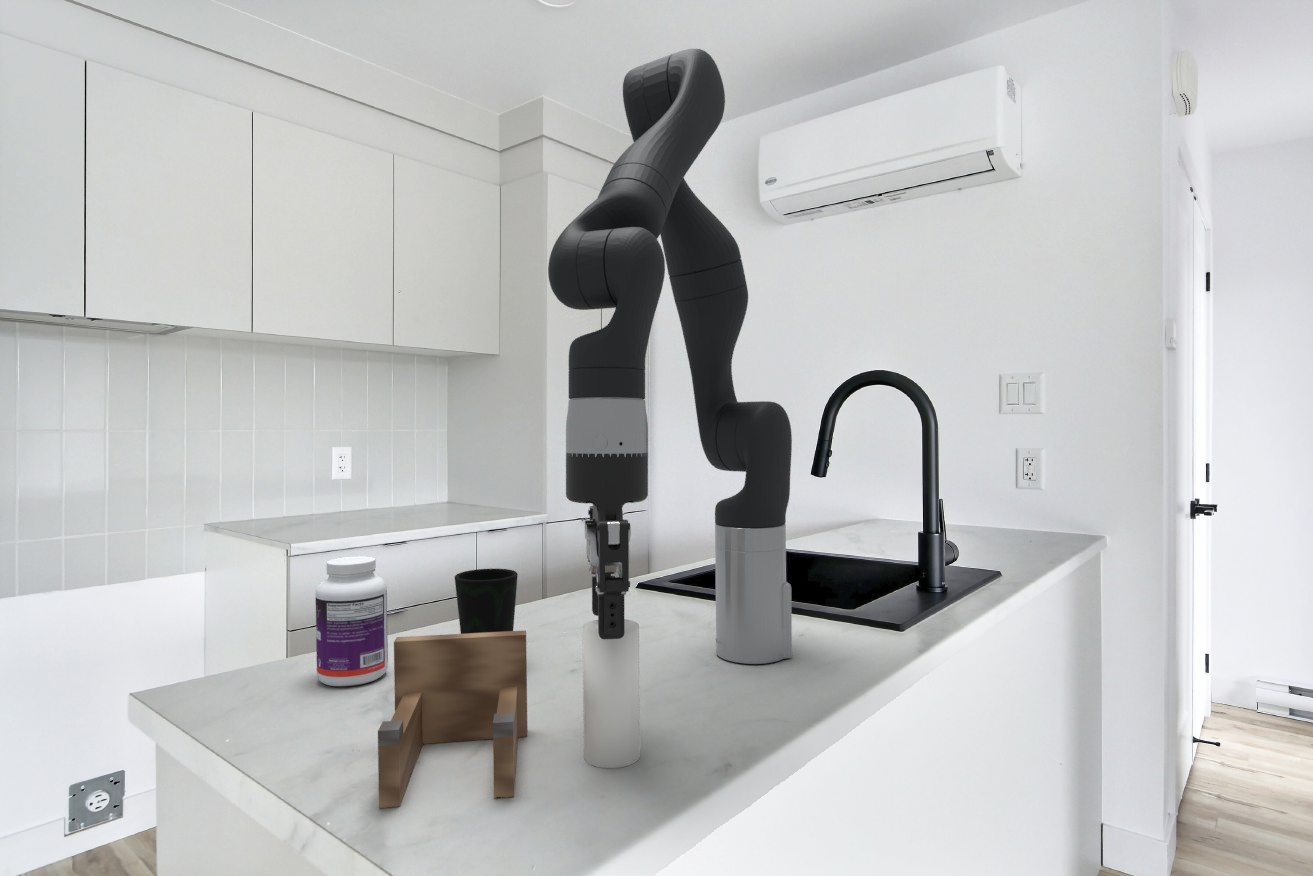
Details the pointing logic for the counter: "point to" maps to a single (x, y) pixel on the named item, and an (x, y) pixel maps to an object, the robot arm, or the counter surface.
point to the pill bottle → (351, 623)
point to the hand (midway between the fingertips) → (607, 625)
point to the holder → (454, 703)
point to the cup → (486, 600)
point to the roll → (611, 697)
